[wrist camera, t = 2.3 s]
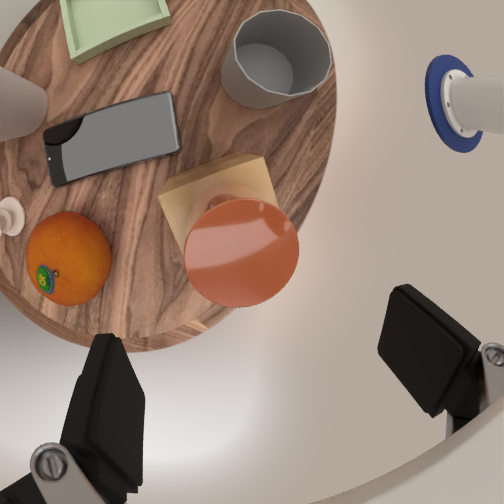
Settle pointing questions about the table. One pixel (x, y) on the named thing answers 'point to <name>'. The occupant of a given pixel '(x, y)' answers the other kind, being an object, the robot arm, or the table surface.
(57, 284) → the fruit
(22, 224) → the candle
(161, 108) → the smartphone
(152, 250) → the table surface
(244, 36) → the cup
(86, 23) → the tray
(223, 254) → the orange cylinder puck
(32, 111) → the coffee cup
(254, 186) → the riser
